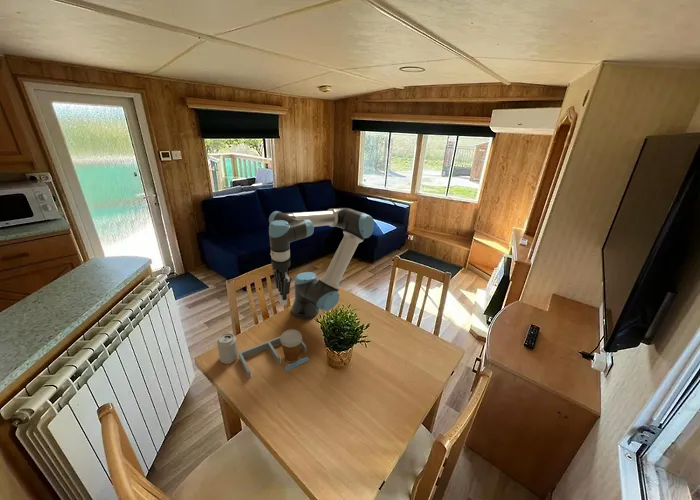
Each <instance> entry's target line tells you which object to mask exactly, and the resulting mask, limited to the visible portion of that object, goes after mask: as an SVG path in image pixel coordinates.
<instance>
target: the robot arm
mask: <svg viewBox="0 0 700 500" xmlns="http://www.w3.org/2000/svg"><path fill="white" fill-rule="evenodd" d="M268 223H269V226H268V235H269V246H270V253H269V255H270V257H271V269H272V271H273V276H274V282H275V287H276V289H277V291H278V292H279V293H278V294H279V296H278V297H279V304H280V306H281V307H284V306H286V305H288V296H287V295H289V294H290V293H291V292H290V291H291V282H292V280H293V279H292V277H289V270H288V269H289V268H290V267H291V249H290V243H292V242H293V243H294V242H295V241H296V242H297V241H300V240H302V239H303V240H304V239H307V238H308V237H310V236H312V235H313V234H314V232H315V231H314V230H315V227H316V228H317V227H324V226H329V227H331V228H334V227H335V228H340V229H341V230H343V231H342V233H343V238H342V240H341V241H340V243H339V245H338V246H337V247H338V248H337V249H336V251H335V253H334V255H333V257H332V259H331V261H330V264H329V266H328V267H327V269H326V272H325V273H324V275H323V277H319V279H318V275H317V274H316V273H315V272H311V271H305V272H301V273H298V274H297V275H296V276H295V278H294V301H293V303H292V305H291V313H292V315H293V316H294V317H296V318H298V319H303V320H304V319H312V318H314V317H315V316H317V315H319V314H318V313H319V312H320V310H321V311H324V312H328V311H330V310H332V309H333V308H335V307H336V306H337V304H338V303H339V301H340V293H339V290H340V286H339V284H340V282H341V280H342V277H343V276H344V274H345V272H346V270H347V268H348V266H349V264H350V262H351V260H352V257H353V256H354V254H355V252H356V250H357V247H358V246H359V244H360V243H362V242H364V240H365V239H368V238H370V237H371V236H372V235H373V232H374V229H375V220H374V218H373V217H372V216H371V215H369V214H367V213H365V212H361V211H359V210H355V209H353V208H349V207H338V208H336V207H335V208H328V209H327V210H318V211H317V210H315V211H302V212H282V211H280V210H279V211H278V210H275V211H273V212H272V213H270V215H269V217H268Z"/></svg>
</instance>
